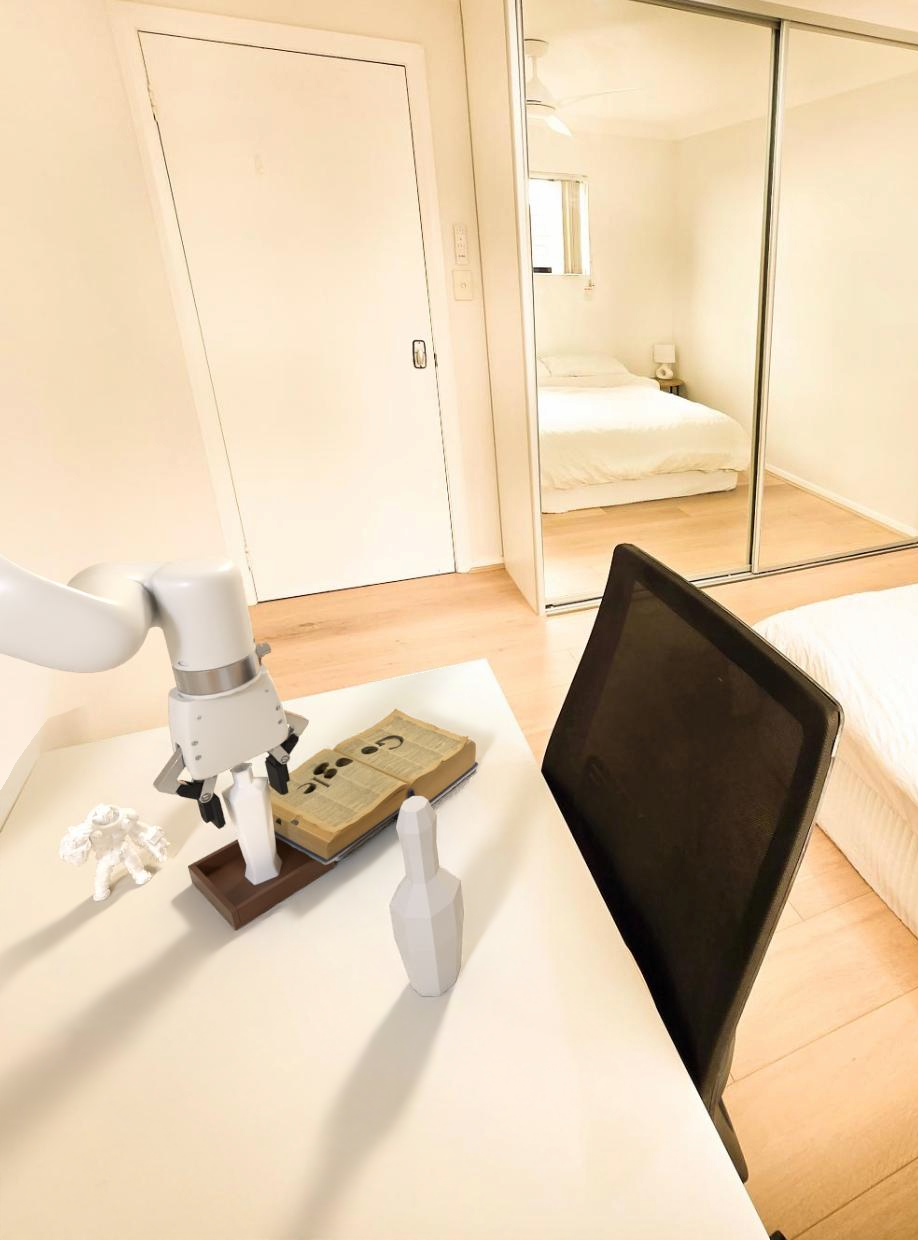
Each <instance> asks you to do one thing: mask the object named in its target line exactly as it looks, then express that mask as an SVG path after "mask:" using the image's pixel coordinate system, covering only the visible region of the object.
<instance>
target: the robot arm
mask: <svg viewBox="0 0 918 1240" xmlns="http://www.w3.org/2000/svg"><path fill="white" fill-rule="evenodd" d="M152 628H160V630H162V632H163V637H164V640H165V644H166V649H167V653H168V656H169V660H170V664H171V668H172V673H173V677H174V681H175V684H176V686H175V687H173V688H171V689H170V690H169V692H168V698H167V714H168V726H169V733H170V734H169V735H170V741H171V747H172V753H173V754H172V755H171V757H170V758H169V760H168V761H167V763H165V765H164V767H163V768H162V770H161V771H160V772H159V774H158V775H157V777H156V778H155V780H154V781H153V783H152V786H153V788H154V789H155V790H157V792H159V793H164V794H168V795H176V796H179V797H181V798H185V799H190V800H194V801H195V800H196V802H197V806H198V810H199V812H200V817H201V819H202V821H203V822H204V823H205V824H208V823H210V822H211V824H213V825H214V826H215V827H216V828H217V829H218V830H220V829H222V828H224V827H225V826H226V824H227V822H226V818H225V814H224V811H223V807H222V803H221V799H220V797H219V796H218V795H217V794H216V793H215V788H216V784H217V780H218V777H219V775H220V774H222V773H224V772H226V771H229V770H230V769H232V768H233V767H235V766H237V765H239V764H241V763H247V761H250V760H252V759H254V758H256V757H259V756H260V755H263V754H265V753H267V754H268V756H267V757H265V760H264V764H265V769H266V773H267V777H268V783H269V784H270V786H271V787H272V788H273V789H274V790H276V791H277V792H278V793H279V794H280V795H285V794H287V793H289V791H288V786H287V782H289V781H290V777H289V773H290V772H289V768H288V763H289V762H290V760H291V753H292V752H293V750H294V749H295V747H296V746H297V744H298V743H299V740H300V739H299V738H300V736H302V734H303V733H304V731H305V730H306V729H307V727H308V725H309V723H310V720H309V719H308V718H306V717H304V716H303V715H301V714H298V713H296V712H292V711H290V710H286V709H284V706H283V703H282V700H281V698H280V694H279V692H278V690H277V686H276V685H275V681H274V680H273V678H272V675H271V674H270V672H269V670H268V668H267V666H266V665H264V663H262V658H264V657H265V656H266V655H268V654H271V653H272V647H271V645H270V644H269V642H268V641H267V642H266V641H265V642H262V643H256V638H255V635H254V629H253V625H252V620H251V615H250V609H249V605H248V599H247V594H246V590H245V585H244V581H243V576H242V572H241V569H240V567H239V565H238V563H236V562H235V561H234V560H233V559H231V558H230V557H226V556H223V555H198V556H190V557H189V556H188V557H185V558H181V559H177V560H174V561H109V562H103V563H97V564H93V565H91V566H88V567H86V568H84V569H82V570H80V571H79V572H77V573H76V574H75V575H74V576H73V577H72V578H71V579H70V580H69V581H68V583H67V584H63V583H60V582H58V581H56V580H52V579H50V578H47V577H44V576H42V575H40V574H37V573H36V572H33V571H31V570H29V569H27V568H25V567H23V566H21V565H19V564H18V563H16V562H14V561H12V560H10V559H8V558H7V557H6V556H4V555H3V554H2V553H0V654H2V655H5V656H7V657H10V658H14V659H17V660H21V661H24V662H27V663H30V664H34V665H38V666H41V667H44V668H48V669H51V670H55V671H56V670H57V671H62V672H67V673H77V674H94V673H101V672H105V671H109V670H113V669H116V668H118V667H120V666H122V665H124V664H126V663H127V662H128V661H130V660H131V659H132V658H133V657H134V656H135V655H137V653H138V652H139V651H140V649H141V648H142V647H143V644H144V643H145V641H146V639H147V636H148V634H149V631H150V629H152ZM185 768H186V770H187V771H188V773H189V774H190V776H191V781H188V780H183V779H179V777H180V775H181V774H182V772H183V771H184V770H185Z"/></svg>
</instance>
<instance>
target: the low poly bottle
mask: <svg viewBox="0 0 918 1240" xmlns="http://www.w3.org/2000/svg"><path fill="white" fill-rule="evenodd" d="M437 817H438V815H437V813H436V812H435V810H434V808H433V806H432V805H431V804H430V803H429V801H428V800H427V799H426V798H424V797H423V796H412V797H410V798H409V799H407V800H405V801H404V802H403V804H402V806H401V808H400V812H399V816H398V818H397V821H396V825H395V830H396V833H397V836H398V840H399V843H400V847H401V850H402V856H403V862H404V870H405V875H404V876H403V878H402V879H401V880H400V882H399V883H398V885H397V887H396V889H395V891H394V893H393V896H392V898H391V900H390V902H389V904H388V907H389V914H390V920H391V926H392V933H393V934H392V935H393V938H394V941H395V945H396V947H397V950H398V953H399V955H400V958H401V961H402V964H403V966H404V970H405V973H406V975H407V978H408V981H409V983H410V986H411V987H412V988H413V989H414V991H416V992H417V993H418V994H419V995H420V996H421V997H441V996H442V995H443V994H444V993H446V992H447V991H448V990H449V989H450V988H451V987H452V986H453V985H454V984H455V983H456V982H457V980H458V976H459V972H460V969H461V966H462V953H463V952H462V951H463V936H464V935H463V932H464V931H463V930H464V919H465V918H464V917H465V909H464V898H463V891H462V890H463V889H462V881H461V879H459V877H457V876H456V875H455V874H453V872H451V871H450V870H448V869H446V868H445V867H444V866H442V865H440V861H439V852H438V842H437V835H438V834H437V833H438V832H437V830H438V829H437V826H438V823H437V821H438V819H437Z"/></svg>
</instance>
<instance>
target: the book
mask: <svg viewBox="0 0 918 1240" xmlns="http://www.w3.org/2000/svg"><path fill="white" fill-rule="evenodd" d="M469 738H470V736H469V735H466V736H464V735H463V736H461V735H458V734H456V733H452V732H450V731H448V730H445V729H443V728H440V727H437V726H436V725H435V724H431V723H428V722H426V721H423V720H420V719H417V718H415V717H412V716H411V715H410V716H409V715H408V714H406V713H404V712H403V711H401V710H399V709H397V708H394V710H393V711H392V712H390V713H389V714H388V715H387V716H385V717H384V718H383V719H382V720H380V721H379V722H377V723H376V724H373V726H371V727H370V728H368V729H365V730H363V732H360V733H358V734H356V735H354V736H351V737H349V738H347V739H345V740H343V741H340V743H338V744H337V745H336V746H335V747H334V748H333V749H331V748H323V749H322V750H319V751H318V752H317V753H315V754H314V755H313V756H311V757H310V758H308V759H307V760H306V761H304V762H303V763H301V764H300V765H299V766H298V767H297V768H295V769H294V770H292V771H290V772H289V777H290V781H289V782H287V786H288V791H289V793H287V794H285V795H280V794H279V793H278V792H277V791H276V790H274V789H273V788H272V787H271V786H270V784H269V791H270V800H271V809H272V817H273V826H274V835H275V837H276V838H278V839H280V840H282V841H284V842H286V843H288V844H289V845H291V846H292V847H293V848H296V849H298V850H300V851H302V852H304V853H306V854H307V855H309V856H310V857H312V858H313V859H315V860H317V861H319V862H321V863H322V864H324V865H327V864H329V863H331V862H333V861H334V862H340V860H342V859H344V858H345V857H347V856H348V854H350V853H351V852H352V851H354V850H356V849H357V848H359V847H360V846H361V845H363V844H364V843H365V842H367V840H369V839H371V838H373V837H374V836H375V835H376V834H378V833H379V832H380V831H382V830H383V828H386V826H388V825H389V824H390V823H391V822H392V821H393V820H394V819H398V816H399V812H400V808H401V806H402V804H403V802H404V801H405V800H407V799H409V798H410V797H412V796H423V797H424V798H426V799H427V800H428V801H429V803H430V804H431V806H432V805H433V804H435V803H436V802H437V801H439V800H440V799H441V798H443V796H445V795H447V793H450V791H451V790H453V788H454V787H456V786H457V785H459V784H460V783H461V782H462V781H464V779H466V778H467V777H468V776H470V775H471V774H472V773H473V772H475V771H476V770H477V769H478V767H479V762H477V761H476V757H477V756H476V755H477V745H476V743H475V741H473V740H472V739H469Z"/></svg>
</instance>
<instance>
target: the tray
mask: <svg viewBox="0 0 918 1240" xmlns="http://www.w3.org/2000/svg"><path fill="white" fill-rule="evenodd" d="M275 843H276V852H277V854H278V856H279V857H280V859H281V860H282V865H281V868H280V872H279V875H278V876H276V877H274V878H271V879H269V880H266V881H264V882H262V883H259V884H256V885H254V884H253V883H252V882H250V881H249V880H248V879H247V878H246V877H245V873H246V862H245V859H244V856H243V854H242V851H241V848H240V845H239V842H238V839H237V838H236V839H235V840H233V841H231V842H230V843H228V844H226V845H224V846H222V847H220V848H219V849H218V848H217V850H214V851H213V852H211V853H209V854H207V855H206V856H204V857H202V858H199V859H198V860H196V861H195V862H192V863H191V864H189V865H187V869H188V873H189V876H190V880H191V883H192V885H194V887H195V888H196V889H197V890H198V891H199V893H200V894H202V896H203V897H204V898H205V899H206V900H207V901H208V902H209V903H210V904H211V905H212V907H214V909H215V910H216V911H217V912H218V913H219V914H220V915H221V916H222V918H223V919H224V920H225V921H226V922H227V923H228V924H229V925H230V927H232V928H233V929H234V931H238V930H239V929H241V928H243V927H244V926H246V925H247V924H249V923H250V922H252V921H254V920H255V919H257V918H258V917H259V916H261V915H263V914H264V913H266V912H267V911H269V910H271V909H273V908H274V907H275V906H277V905H279V904H281V903H282V902H283V901H284V900H286V899H288V898H290V897H292V896H293V895H294V894H296V893H297V892H299V891H301V890H303V889H304V888H305V887H307V886H308V885H310V884H312V883H313V882H314V881H316V880H317V879H320V878H321V877H323V876H324V875H326V874H327V873H329V872H330V871H332V870H334V869H335V867H336V866H335V861H333V862H331V863H329V864H327V865H324V864H322V863H321V862H319V861H317V860H315V859H313V858H312V857H310V856H309V855H307V854H306V853H304V852H302V851H300V850H298V849H296V848H293V847H292V846H291V845H289V844H288V843H286V842H284V841H282V840H280V839H278V838H276V837H275Z"/></svg>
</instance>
